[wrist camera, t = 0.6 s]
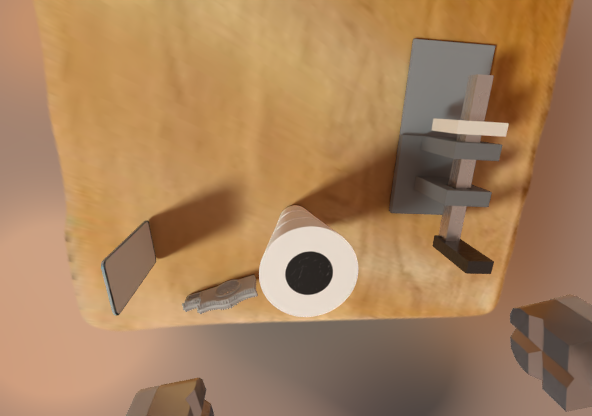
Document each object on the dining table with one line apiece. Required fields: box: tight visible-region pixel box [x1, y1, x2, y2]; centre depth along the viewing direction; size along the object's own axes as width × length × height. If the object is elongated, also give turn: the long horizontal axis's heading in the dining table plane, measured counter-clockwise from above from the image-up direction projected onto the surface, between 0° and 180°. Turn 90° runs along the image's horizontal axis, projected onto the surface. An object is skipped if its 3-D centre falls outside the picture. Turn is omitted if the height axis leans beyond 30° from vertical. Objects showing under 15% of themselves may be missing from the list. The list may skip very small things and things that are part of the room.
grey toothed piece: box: [182, 275, 258, 314], centre depth 53 cm, size 12×2×6 cm, turn 107°
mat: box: [400, 39, 495, 138], centre depth 50 cm, size 13×12×1 cm
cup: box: [259, 205, 358, 317], centre depth 45 cm, size 11×11×18 cm
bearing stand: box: [389, 134, 502, 215], centre depth 48 cm, size 12×12×10 cm
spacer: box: [432, 118, 509, 137], centre depth 44 cm, size 2×6×6 cm, turn 87°
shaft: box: [433, 74, 494, 274], centre depth 42 cm, size 23×3×8 cm, turn 177°
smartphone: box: [101, 221, 156, 315], centre depth 45 cm, size 7×1×15 cm, turn 4°
